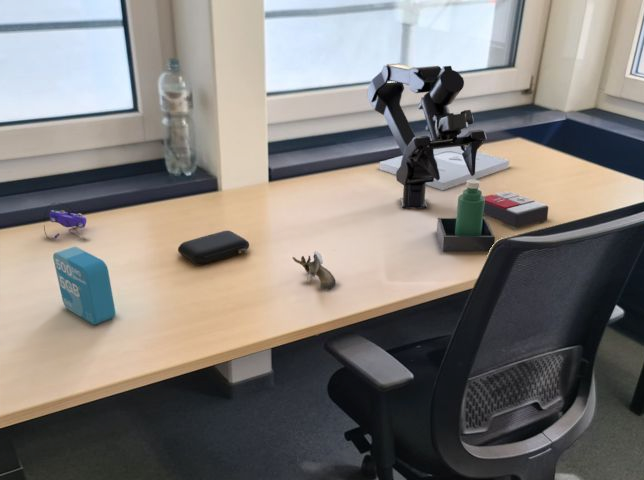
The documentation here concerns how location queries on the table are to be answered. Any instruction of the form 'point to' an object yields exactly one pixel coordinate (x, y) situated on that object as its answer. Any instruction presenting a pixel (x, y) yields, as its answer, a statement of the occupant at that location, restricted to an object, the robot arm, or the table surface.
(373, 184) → the table surface
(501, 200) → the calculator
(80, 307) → the data package
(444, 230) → the tray
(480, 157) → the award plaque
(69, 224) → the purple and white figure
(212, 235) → the carrying case
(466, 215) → the bottle
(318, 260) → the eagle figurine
